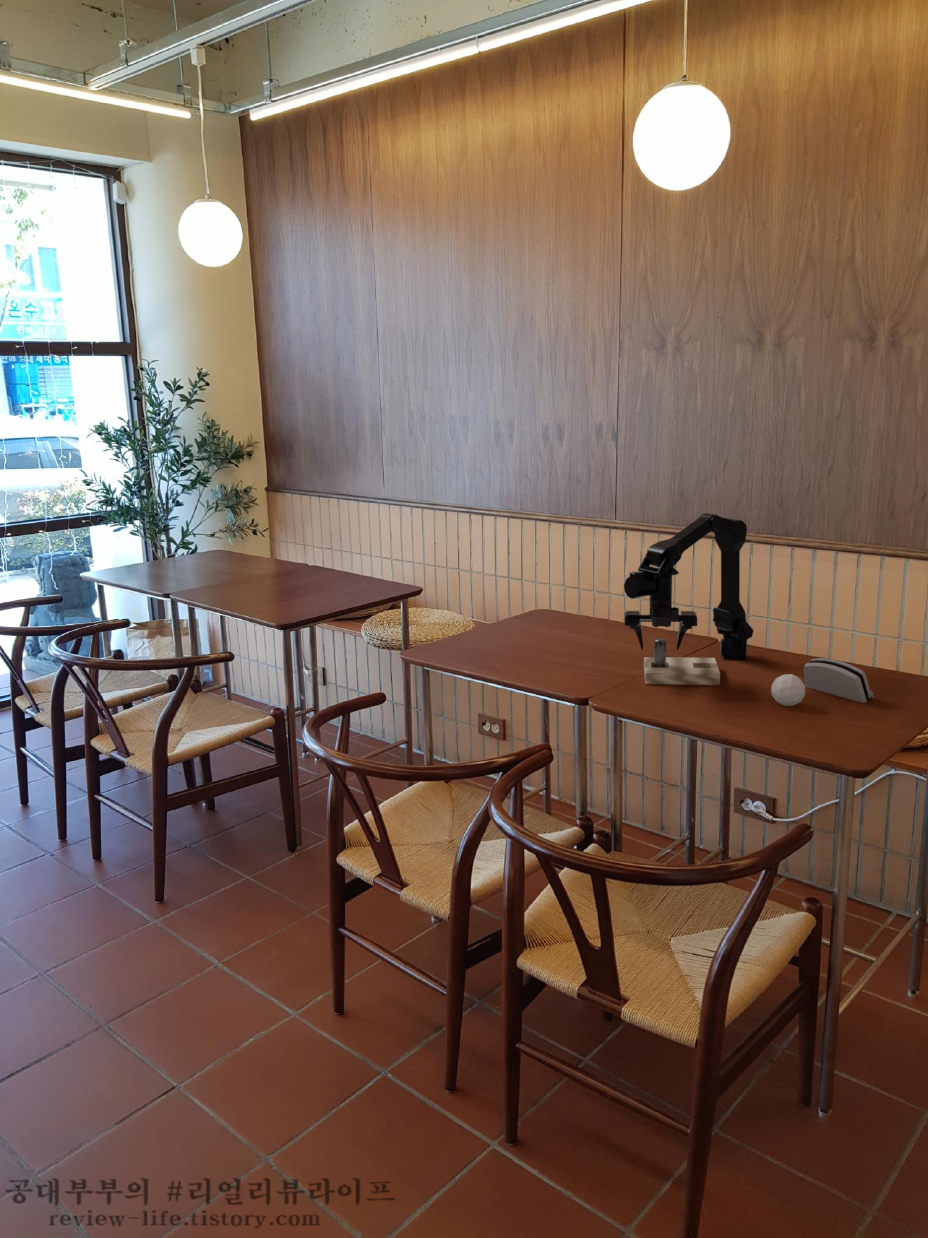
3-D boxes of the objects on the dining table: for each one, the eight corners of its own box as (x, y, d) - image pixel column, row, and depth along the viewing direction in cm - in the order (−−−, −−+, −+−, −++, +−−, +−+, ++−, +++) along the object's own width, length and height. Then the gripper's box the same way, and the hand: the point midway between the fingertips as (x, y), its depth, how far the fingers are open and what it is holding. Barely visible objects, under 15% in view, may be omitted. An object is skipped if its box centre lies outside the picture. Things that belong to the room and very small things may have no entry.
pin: (665, 674, 253) (666, 638, 251) (666, 677, 250) (666, 641, 248) (653, 673, 254) (654, 638, 251) (653, 677, 251) (654, 641, 248)
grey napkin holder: (875, 698, 229) (870, 664, 225) (864, 708, 227) (859, 675, 223) (814, 682, 242) (809, 650, 238) (804, 692, 240) (798, 659, 236)
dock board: (714, 668, 256) (714, 657, 255) (719, 684, 243) (720, 674, 242) (643, 667, 259) (643, 657, 259) (645, 683, 246) (645, 673, 245)
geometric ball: (786, 718, 226) (776, 698, 221) (771, 697, 232) (761, 677, 228) (815, 703, 225) (806, 682, 220) (799, 682, 231) (789, 662, 227)
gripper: (625, 600, 240) (624, 658, 244) (699, 600, 237) (698, 658, 241) (624, 590, 250) (624, 646, 254) (696, 590, 247) (694, 646, 251)
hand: (659, 649), depth 250 cm, fingers open, 9 cm apart
